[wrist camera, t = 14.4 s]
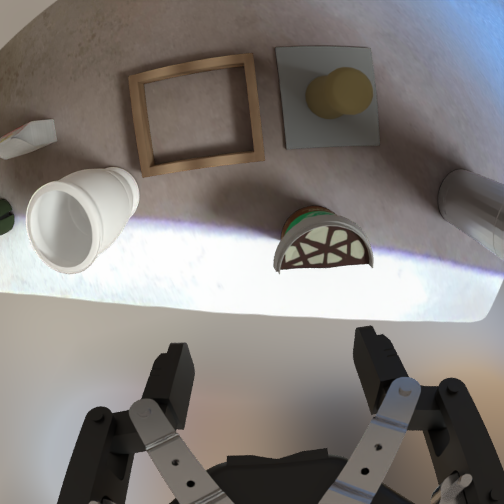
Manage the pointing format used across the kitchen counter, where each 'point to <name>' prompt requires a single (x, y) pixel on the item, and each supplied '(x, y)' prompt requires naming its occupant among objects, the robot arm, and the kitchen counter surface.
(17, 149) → the white tea box
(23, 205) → the kitchen counter surface
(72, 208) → the jar
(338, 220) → the food container
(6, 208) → the character mug
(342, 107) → the olive pawn figure
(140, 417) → the robot arm
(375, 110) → the mat
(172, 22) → the kitchen counter surface
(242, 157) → the frame
